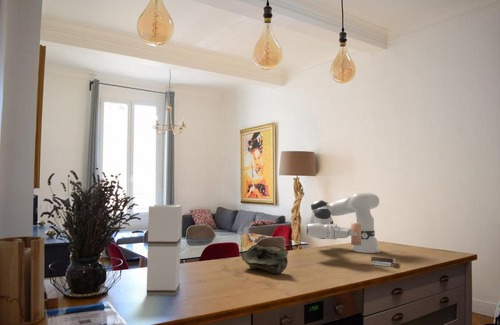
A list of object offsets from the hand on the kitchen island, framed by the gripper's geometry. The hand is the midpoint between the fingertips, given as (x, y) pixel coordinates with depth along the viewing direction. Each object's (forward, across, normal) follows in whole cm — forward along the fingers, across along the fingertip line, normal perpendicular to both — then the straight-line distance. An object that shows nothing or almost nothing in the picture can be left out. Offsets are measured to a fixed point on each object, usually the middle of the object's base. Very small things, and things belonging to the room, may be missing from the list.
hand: (357, 233), depth 213 cm
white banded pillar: (-67, +92, -17) cm, 115 cm away
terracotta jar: (-1, 0, -6) cm, 7 cm away
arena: (+13, -3, -17) cm, 22 cm away
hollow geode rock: (-41, +41, -17) cm, 61 cm away
